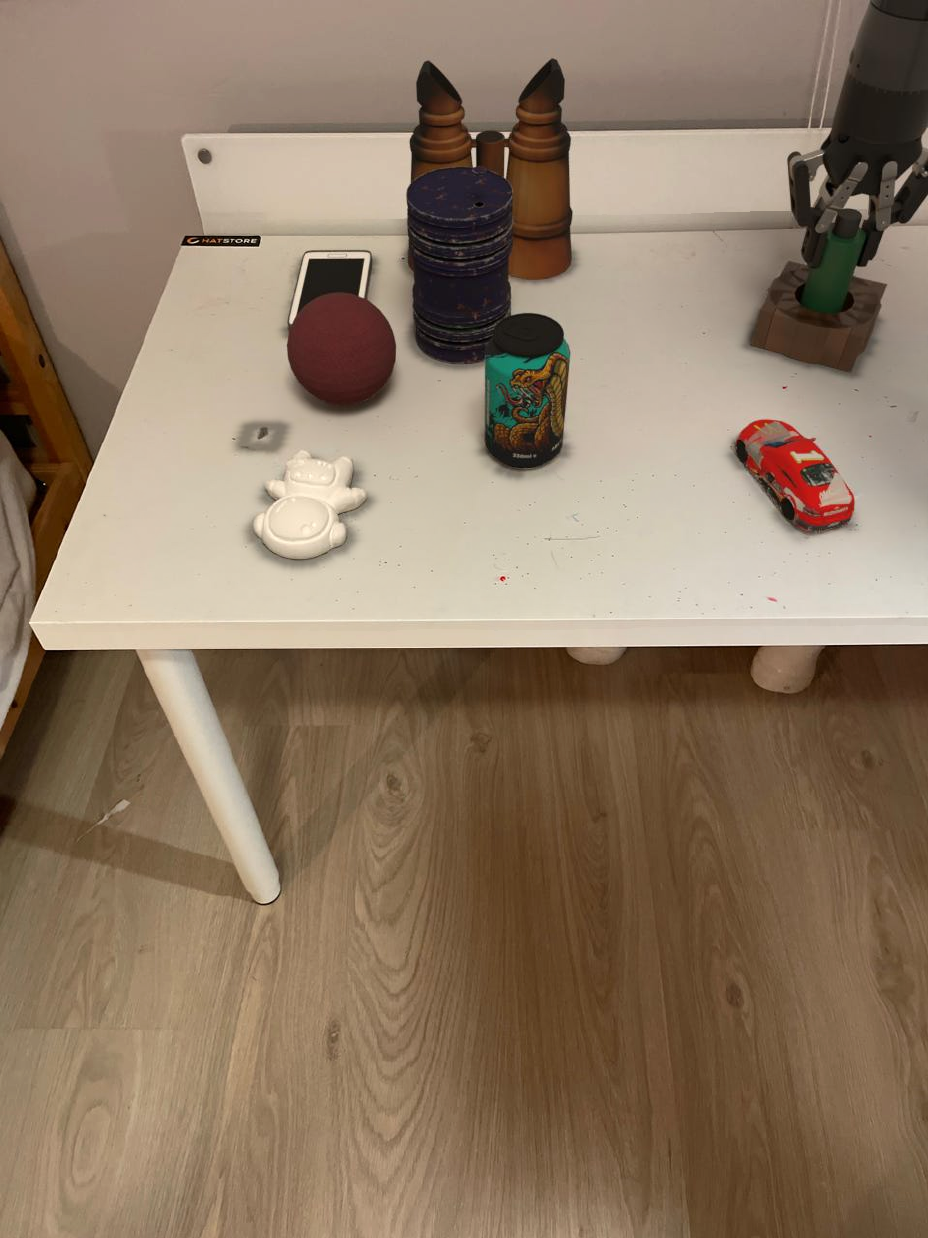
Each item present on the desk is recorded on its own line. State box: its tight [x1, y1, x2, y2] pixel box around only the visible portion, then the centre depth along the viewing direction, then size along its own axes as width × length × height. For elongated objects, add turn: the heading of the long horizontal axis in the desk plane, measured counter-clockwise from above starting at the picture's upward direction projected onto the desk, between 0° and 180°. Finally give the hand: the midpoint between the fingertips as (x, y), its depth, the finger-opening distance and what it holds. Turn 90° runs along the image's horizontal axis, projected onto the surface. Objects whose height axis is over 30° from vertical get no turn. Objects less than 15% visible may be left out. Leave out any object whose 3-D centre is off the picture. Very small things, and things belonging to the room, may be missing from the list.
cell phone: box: [287, 249, 373, 331], centre depth 100 cm, size 8×15×1 cm, turn 179°
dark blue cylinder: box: [405, 166, 513, 365], centre depth 88 cm, size 10×10×18 cm
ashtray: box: [750, 260, 888, 373], centre depth 93 cm, size 11×11×4 cm
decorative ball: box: [286, 292, 397, 406], centre depth 86 cm, size 10×10×10 cm
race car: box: [735, 418, 856, 533], centre depth 79 cm, size 13×5×4 cm, turn 17°
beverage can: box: [484, 312, 571, 470], centre depth 80 cm, size 7×7×12 cm
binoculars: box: [406, 57, 574, 280], centre depth 96 cm, size 18×8×20 cm, turn 90°
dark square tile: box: [256, 426, 268, 440], centre depth 86 cm, size 3×3×1 cm
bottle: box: [800, 207, 866, 314], centre depth 89 cm, size 4×4×11 cm
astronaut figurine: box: [252, 449, 367, 560], centre depth 79 cm, size 9×12×3 cm
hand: (835, 262), depth 89 cm, fingers closed on bottle, 4 cm apart
